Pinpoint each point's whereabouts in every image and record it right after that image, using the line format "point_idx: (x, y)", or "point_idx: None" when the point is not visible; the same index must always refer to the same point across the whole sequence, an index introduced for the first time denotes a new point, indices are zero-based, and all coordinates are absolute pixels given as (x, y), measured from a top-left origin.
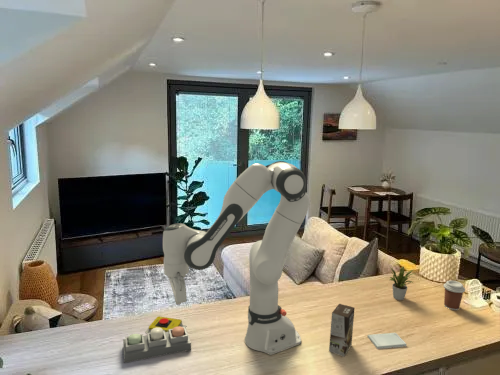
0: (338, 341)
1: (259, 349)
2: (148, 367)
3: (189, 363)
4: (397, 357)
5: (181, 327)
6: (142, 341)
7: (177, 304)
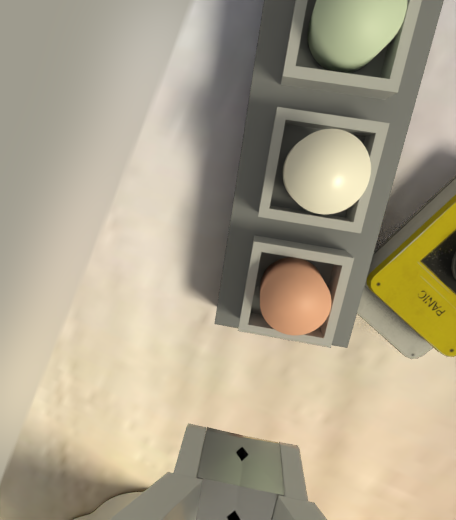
0: None
1: (98, 512)
2: (180, 91)
3: (134, 269)
4: None
5: (307, 327)
6: (311, 69)
7: (185, 434)
